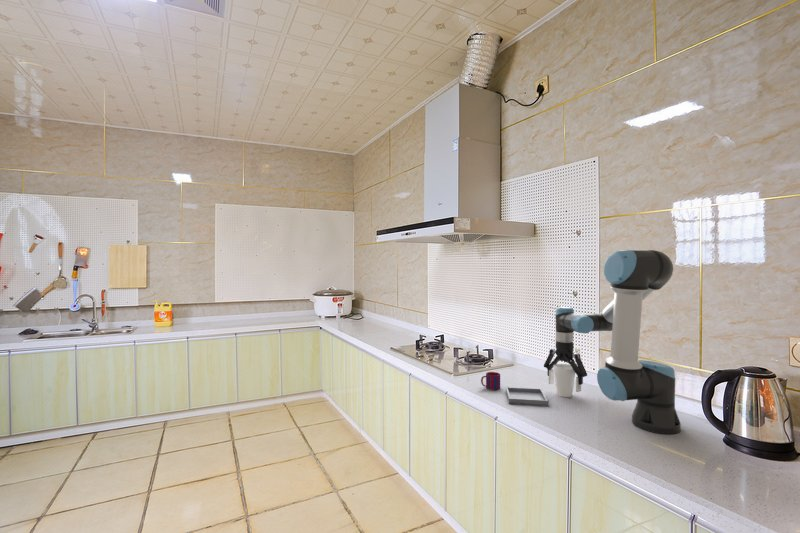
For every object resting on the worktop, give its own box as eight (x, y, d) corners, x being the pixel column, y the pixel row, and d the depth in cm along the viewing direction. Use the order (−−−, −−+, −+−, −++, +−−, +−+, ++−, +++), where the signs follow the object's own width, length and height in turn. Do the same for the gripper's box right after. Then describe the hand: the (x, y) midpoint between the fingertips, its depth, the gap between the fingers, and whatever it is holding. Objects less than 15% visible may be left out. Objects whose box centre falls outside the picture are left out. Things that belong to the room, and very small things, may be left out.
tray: (548, 406, 164) (548, 400, 164) (509, 403, 167) (509, 398, 167) (541, 393, 180) (541, 388, 179) (505, 391, 182) (505, 386, 182)
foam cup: (569, 399, 171) (569, 370, 171) (549, 394, 178) (549, 366, 178) (579, 395, 177) (579, 366, 177) (560, 390, 184) (560, 362, 184)
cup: (502, 389, 186) (502, 375, 186) (484, 391, 183) (484, 376, 183) (495, 385, 192) (495, 371, 192) (477, 387, 189) (477, 373, 189)
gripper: (595, 344, 169) (595, 393, 170) (545, 335, 190) (545, 379, 190) (586, 346, 165) (586, 396, 165) (536, 337, 186) (536, 381, 186)
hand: (564, 387), depth 178 cm, fingers open, 13 cm apart
